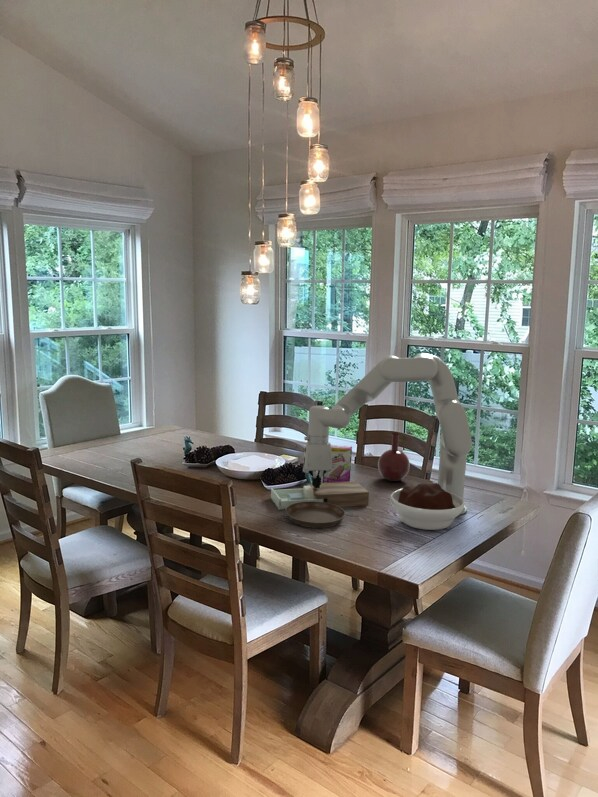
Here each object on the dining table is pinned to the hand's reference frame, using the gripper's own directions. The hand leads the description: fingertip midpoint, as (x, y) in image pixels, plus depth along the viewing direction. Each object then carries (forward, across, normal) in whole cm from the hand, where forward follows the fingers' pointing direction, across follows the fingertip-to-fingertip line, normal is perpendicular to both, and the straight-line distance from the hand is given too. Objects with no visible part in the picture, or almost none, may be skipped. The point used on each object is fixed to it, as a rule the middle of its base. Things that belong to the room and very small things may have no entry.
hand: (316, 487), depth 254 cm
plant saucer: (+6, -6, -18) cm, 20 cm away
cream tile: (+3, -2, 0) cm, 3 cm away
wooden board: (+6, +8, 0) cm, 10 cm away
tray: (+6, -7, 0) cm, 9 cm away
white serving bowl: (+6, +30, -30) cm, 43 cm away
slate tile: (+3, -8, 0) cm, 8 cm away
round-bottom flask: (+6, +40, +21) cm, 46 cm away
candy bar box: (+6, +14, +18) cm, 24 cm away
